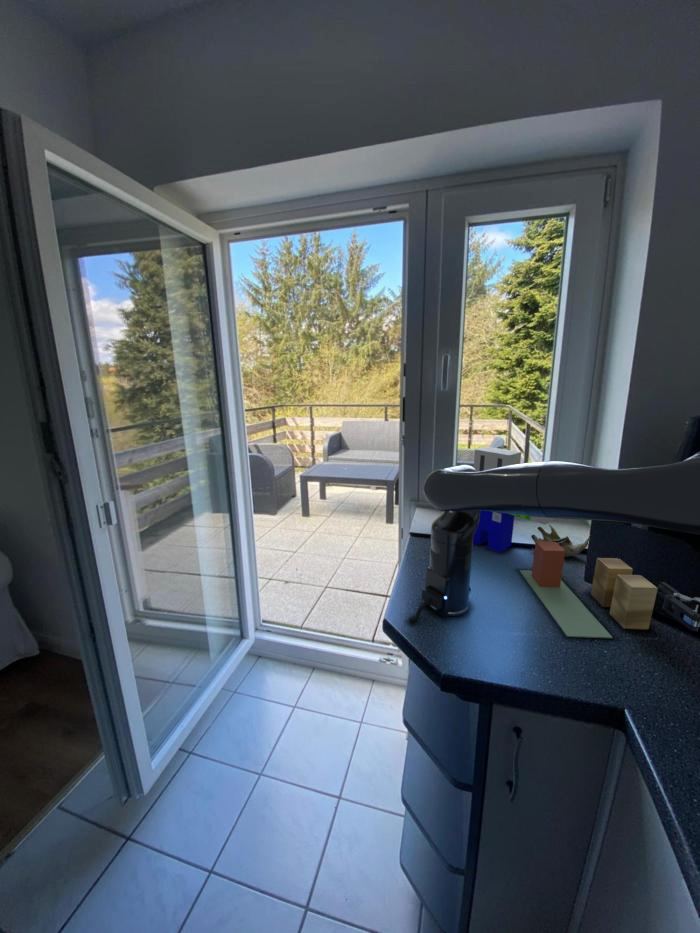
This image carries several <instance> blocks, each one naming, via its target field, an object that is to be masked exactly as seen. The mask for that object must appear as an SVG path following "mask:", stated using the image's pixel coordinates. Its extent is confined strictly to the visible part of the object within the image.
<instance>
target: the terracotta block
mask: <svg viewBox="0 0 700 933" xmlns="http://www.w3.org/2000/svg"><path fill="white" fill-rule="evenodd" d="M534 549H535V551H534V553H533V561H532V568H531V570H532V577H533V579H534V580H535V581H536V583H537V584H538V585H539V587H560V584H561V580H562V577H563V576H562V575H563V569H564V564H565V558H566V557H565V550H564V549H563V548H562V547H561V546H560V545H559V544H557V543H556V542H536V544H535V543H534Z"/></svg>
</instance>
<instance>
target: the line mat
mask: <svg viewBox="0 0 700 933" xmlns="http://www.w3.org/2000/svg"><path fill="white" fill-rule="evenodd" d="M519 572H520V573H521V575H522V576H523V578H524V579H525V580H526V582H527V583H528V584H529V586H530V587H531V588H532V590H533V591H534V593H535V594H536V596H537V597H538V598H539V600H540V601H541V602H542V604H543V605H544V606H545V608H546V609H547V610H548V612H549V613H550V615H551V617H552V618H553V619H554V620H555V622H556V624H557V625H558V626H559V627H560V629H561V630H562V631H563V633H564V636H565V637H566V638H585V639H613V636H612V635H611V634H610V632H608V630H607V629H606V627H604V626H603V625H602V624H601V623H600V621H599V620H598V619H597V618H596V617H595V616H594V614H593V613H591V611H590V610H589V609H588V608H587V606H585V605H584V603H583V602H582V601H581V600H580V599H579V598H578V597H577V595H576V594H575V593H573V591H572V590H571V589H570V588H569V586H567V585H566V583H565V582H564V581H563V580H562V579H561V584H560V587H539V585H538V584H537V583H536V581H535V580H534V579H533V577H532V569H531V570H527V569H525V570H524V569H519Z"/></svg>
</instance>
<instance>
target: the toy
mask: <svg viewBox="0 0 700 933" xmlns="http://www.w3.org/2000/svg"><path fill="white" fill-rule="evenodd" d="M521 461H522V451H518V450H512V449H505V448H499V447H492V446H483V447H479V448H475V449H474V456H473V468H475V469H476V470H477V472H479V471H485V470H489V469H494V468H499V467H503V466H509V465H515V464H521ZM515 517H518V518H521V519H525V520H528V521H530V522H535V523H538V524H541V525H547V524H549V523H550V522H552V521H554V520H556V518H546V517H534V516H526V515H516V514H507V513H498V512H491V511H484V510H481V512H480V519H479V525H478V527H477V529H476V531H475V533H474V541H473V545H474V544H475V545H477V546H481V545H483V544H485V543H487V546H486V547H487V549H490V550H491V551H495V552H497V553H502V552H503V551H505V550H507V549H508V548H510V547H512V544H513V543H512V542H513V535H514V534H513V533H514V523H515Z"/></svg>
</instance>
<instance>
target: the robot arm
mask: <svg viewBox="0 0 700 933" xmlns="http://www.w3.org/2000/svg"><path fill="white" fill-rule="evenodd" d="M423 495H424V497H425V500H426V501H427V502H428V504H429V505H430V506H432V507H433V508H435V509H436V510H439V511H441V512H442V513H441V514H440V515H439V516H438V517H436V518H435V519H434V520H433V521H432V523H431V526H430V546H429V547H430V548H429V564H428V565H429V566H428V567H426V568H425V585H424V587H423V588H422V589H421V600H423V602H422V603H421V604H420V606H418V608H417V611H416V613H415V615H413V616H412V617H409V618H408V619H409V622H410V623H413V622H416V621H417V620H419V618H420V616H421V614H422V611H423V610H424V609H425V608H426V607H428V608H429V609H431V610H432V611H433V612H435V613H436V614H438V615H440V616H441V617H442V618H446V617H458V616H461V615H464V614H465V613H467V612H468V610H469V608H470V607H469V606H470V605H469V604H470V601H469V600H470V595H471V592H472V588H471V576H472V565H473V564H472V562H473V552H474V551H473V550H474V543H473V541H474V533H475V531H476V529H477V527H478V525H479V519H480V512H481V510H484V511H491V512H498V513H507V514H516V515H526V516H534V517H546V518H555V519H564V520H565V519H567V520H578V521H579V520H581V521H595V522H596V521H598V522H617V523H626V524H633V525H640V526H646V527H652V528H657V529H664V530H670V531H674V532H681V533H687V534H693V535H699V536H700V451H698V452H696V453H694V454H693V455H691V456H689V457H687V458H686V459H684V460H682V461H679V462H675V463H669V464H662V465H654V466H645V467H632V468H606V467H605V468H604V467H598V466H595V465H589V464H585V463H580V462H577V461H567V460H549V461H548V460H547V461H546V460H545V461H532V462H531V461H530V462H523V463H521V462H520V464H515V465H509V466H503V467H499V468H494V469H489V470H485V471H479V472H477V470H476V469H475V468H474V466H472V465H469V464H457V465H452V466H446V467H441V468H437V469H436V470H433V471H432V472H430V474H428V475H427V477H426V479H425V481H424V483H423ZM657 588H658V589H657V594H658V595H659V596H661V597H662V598H663V599H664V600H663V605H662V607H661V608H662V610H663V611H665V612H666V613H667V614H668V615H670V616H671V617H672V618H674V619H675V620H676V621H677V622H679V623H680V624H682V625H683V626H684V627H686V628H687V629H688V630H690V631H693V632H698V630H699V627H700V614H699V612H698V609H699V606H700V597H698V596H695V597H689V596H687V595H684V594H681V592H679V591H678V590H677V589H675V587H672V586H671V585H669V583H667V582H665V581H659V582H658V586H657ZM684 602H685V603H688V604H689V606H688V605H686V604H685V603H684Z"/></svg>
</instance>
